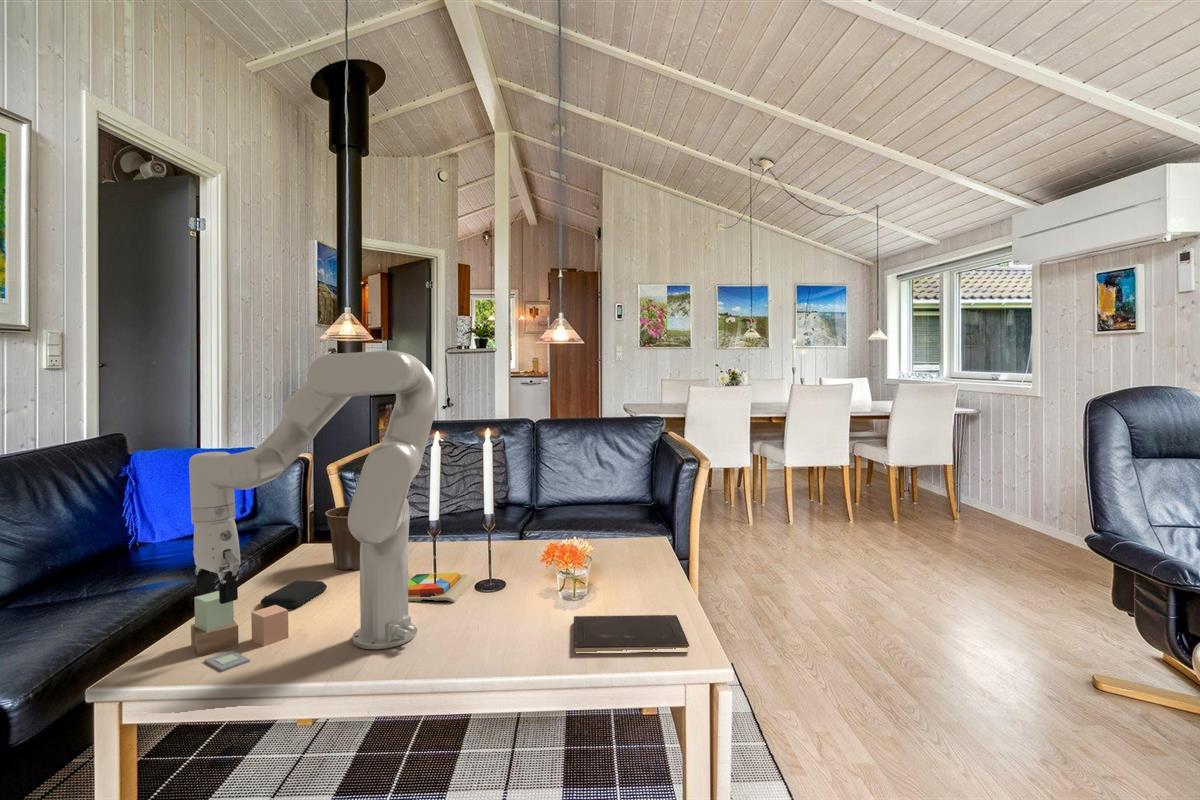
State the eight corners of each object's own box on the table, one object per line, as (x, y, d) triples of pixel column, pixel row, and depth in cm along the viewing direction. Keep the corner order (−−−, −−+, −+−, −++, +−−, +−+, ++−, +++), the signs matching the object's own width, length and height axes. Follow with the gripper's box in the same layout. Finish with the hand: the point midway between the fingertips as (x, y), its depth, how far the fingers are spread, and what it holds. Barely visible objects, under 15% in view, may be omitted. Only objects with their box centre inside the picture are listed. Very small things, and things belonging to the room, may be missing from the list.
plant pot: (350, 576, 167) (350, 518, 166) (313, 567, 175) (313, 512, 174) (397, 561, 181) (396, 508, 180) (361, 553, 189) (360, 502, 189)
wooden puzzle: (409, 579, 166) (409, 567, 166) (476, 582, 164) (476, 569, 164) (380, 602, 149) (380, 588, 149) (454, 606, 147) (454, 591, 147)
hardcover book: (689, 656, 121) (689, 644, 121) (573, 657, 120) (573, 646, 120) (676, 623, 137) (676, 613, 137) (573, 625, 136) (573, 615, 136)
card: (249, 661, 117) (249, 658, 116) (221, 671, 112) (221, 668, 112) (232, 652, 120) (232, 649, 120) (204, 661, 116) (204, 659, 116)
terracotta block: (288, 638, 127) (288, 609, 127) (264, 646, 123) (263, 617, 123) (276, 632, 130) (275, 604, 130) (251, 640, 126) (251, 612, 126)
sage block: (233, 623, 124) (233, 594, 124) (207, 632, 120) (206, 602, 119) (221, 618, 127) (220, 590, 126) (195, 626, 122) (194, 597, 122)
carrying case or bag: (291, 589, 158) (252, 610, 143) (291, 578, 158) (252, 598, 143) (330, 591, 157) (295, 612, 142) (329, 579, 156) (295, 599, 142)
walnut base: (238, 647, 123) (238, 625, 123) (197, 658, 118) (197, 635, 118) (230, 636, 128) (230, 615, 128) (191, 646, 124) (190, 624, 123)
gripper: (254, 514, 121) (257, 599, 121) (213, 505, 131) (217, 584, 131) (213, 522, 115) (217, 611, 115) (173, 512, 124) (177, 595, 125)
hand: (217, 597), depth 123 cm, fingers open, 9 cm apart
